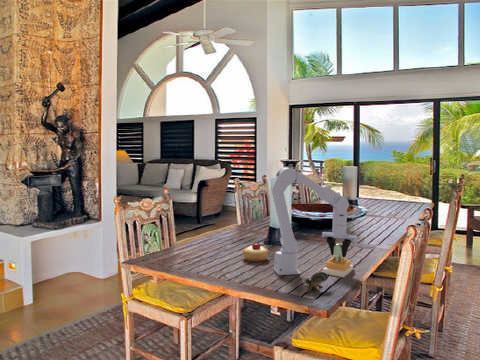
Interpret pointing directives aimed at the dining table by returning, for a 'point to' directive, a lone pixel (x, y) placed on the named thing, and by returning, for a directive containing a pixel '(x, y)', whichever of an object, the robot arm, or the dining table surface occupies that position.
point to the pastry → (255, 253)
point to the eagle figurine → (315, 280)
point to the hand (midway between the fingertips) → (338, 255)
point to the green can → (338, 252)
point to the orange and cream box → (338, 268)
